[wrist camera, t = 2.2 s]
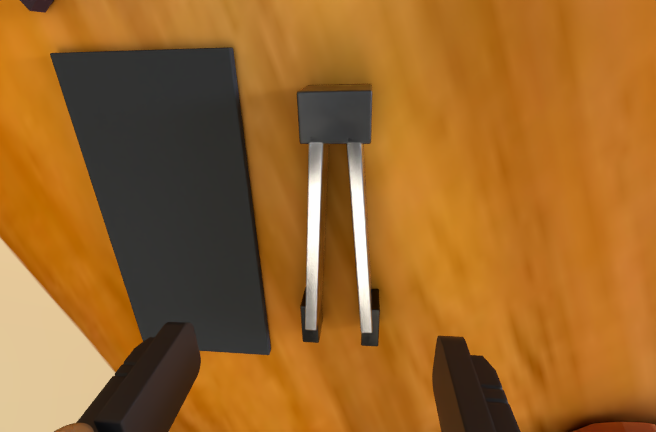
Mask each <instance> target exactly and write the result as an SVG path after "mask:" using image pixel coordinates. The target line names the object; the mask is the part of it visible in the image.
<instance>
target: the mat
mask: <svg viewBox="0 0 656 432" xmlns="http://www.w3.org/2000/svg"><path fill="white" fill-rule="evenodd" d="M50 55H51V59H52V62H53V65H54V68H55V71H56V74H57V77H58V80H59V83H60V86H61V89H62V93H63V96H64V99H65V102H66V105H67V108H68V111H69V114H70V117H71V120H72V123H73V126H74V130H75V133H76V136H77V139H78V142H79V145H80V148H81V151H82V154H83V157H84V160H85V163H86V167H87V170H88V173H89V176H90V179H91V182H92V185H93V188H94V191H95V194H96V197H97V201H98V204H99V207H100V210H101V213H102V216H103V219H104V222H105V225H106V228H107V231H108V234H109V238H110V241H111V244H112V247H113V250H114V253H115V256H116V259H117V262H118V265H119V268H120V271H121V275H122V278H123V281H124V284H125V287H126V290H127V293H128V296H129V299H130V302H131V305H132V309H133V312H134V315H135V318H136V321H137V324H138V327H139V330H140V333H141V336H142V339H143V342H144V341H145V340H146V339H148V338H149V337H155V336H156V335H157V334H158V332H159V331H160V330H161V328H162V327H163V326H164V324H165V323H167V322H186V323H192V325H193V327H194V331H195V335H196V339H197V343H198V348H199V351H214V352H230V353H245V354H261V355H269V354H270V351H271V346H270V338H269V330H268V322H267V314H266V306H265V298H264V290H263V282H262V274H261V267H260V259H259V251H258V243H257V235H256V227H255V219H254V211H253V203H252V195H251V187H250V179H249V171H248V163H247V155H246V147H245V139H244V132H243V124H242V116H241V108H240V100H239V92H238V84H237V76H236V68H235V60H234V52H233V48H199V49H167V50H135V51H103V52H70V53H51V54H50Z"/></svg>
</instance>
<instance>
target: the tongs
mask: <svg viewBox="0 0 656 432" xmlns="http://www.w3.org/2000/svg"><path fill="white" fill-rule="evenodd" d="M297 105H298V122H299V138H300V143H301V144H309V159H308V209H307V260H306V287H305V291H304V295H303V299H302V302H301V306H300V309H301V323H302V336H303V342H315V343H318V342H319V339H320V333H321V327H322V322H323V316H322V294H323V271H324V249H325V227H326V204H327V182H328V159H329V144H347V154H348V168H349V181H350V194H351V208H352V221H353V234H354V248H355V261H356V274H357V288H358V301H359V314H360V328H361V345H363V346H378V338H379V315H380V305H379V289H371V272H370V254H369V236H368V218H367V200H366V182H365V164H364V146H363V144H370V143H371V120H372V85H371V84H339V85H308V86H306V87H304V88H303V89H301V90H299V91H298V92H297Z"/></svg>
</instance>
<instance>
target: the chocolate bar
mask: <svg viewBox="0 0 656 432" xmlns="http://www.w3.org/2000/svg"><path fill="white" fill-rule="evenodd" d="M20 1H21V2H22V3H23V4H24V5H25V6H26V7H27V8H28V9H29V10H30V11H37V12H46V11H47V9H48V8H49V6H50V5H51V3H52V2H53V0H20Z"/></svg>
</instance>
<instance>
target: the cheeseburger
mask: <svg viewBox="0 0 656 432" xmlns="http://www.w3.org/2000/svg"><path fill="white" fill-rule="evenodd" d="M572 432H656V425H655V424H651V423H642V422H607V423H594V424H591V425H588V426H586V427H583V428H580V429H578V430H575V431H572Z"/></svg>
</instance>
